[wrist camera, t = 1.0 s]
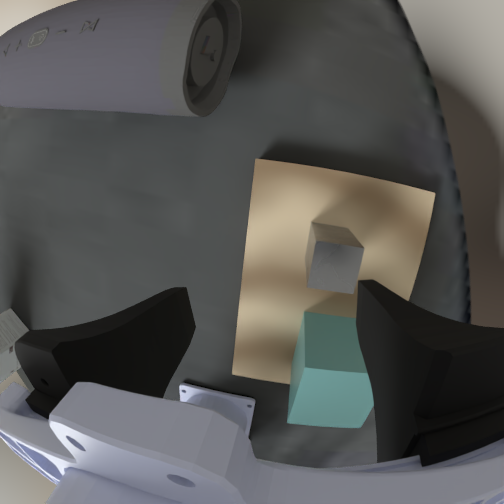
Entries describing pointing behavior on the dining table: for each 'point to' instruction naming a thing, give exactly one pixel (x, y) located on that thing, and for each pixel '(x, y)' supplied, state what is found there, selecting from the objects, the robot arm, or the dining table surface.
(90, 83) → the bluetooth speaker
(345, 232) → the post
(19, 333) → the skincare box
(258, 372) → the base board
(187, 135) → the dining table surface
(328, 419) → the teal foam brick
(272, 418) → the dining table surface
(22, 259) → the dining table surface
